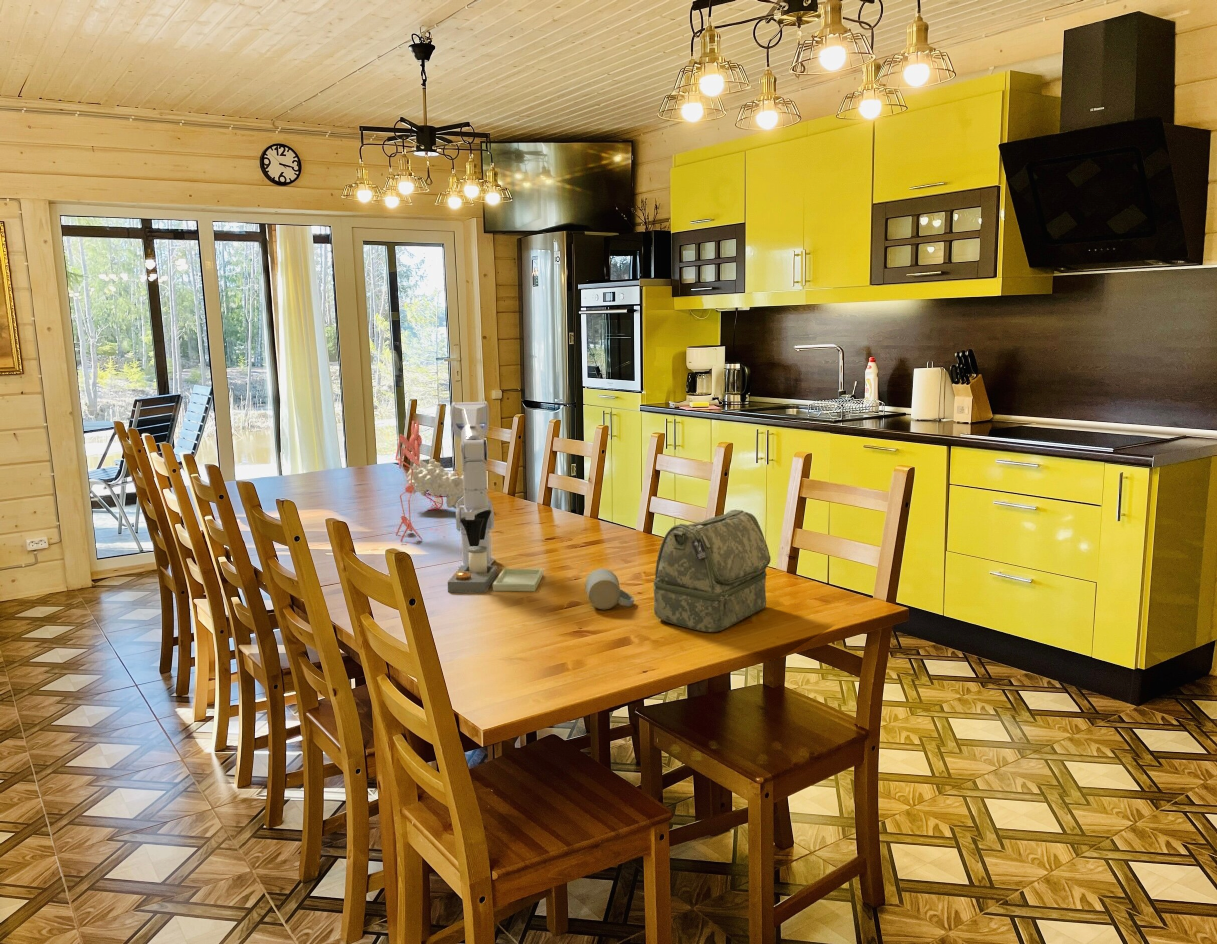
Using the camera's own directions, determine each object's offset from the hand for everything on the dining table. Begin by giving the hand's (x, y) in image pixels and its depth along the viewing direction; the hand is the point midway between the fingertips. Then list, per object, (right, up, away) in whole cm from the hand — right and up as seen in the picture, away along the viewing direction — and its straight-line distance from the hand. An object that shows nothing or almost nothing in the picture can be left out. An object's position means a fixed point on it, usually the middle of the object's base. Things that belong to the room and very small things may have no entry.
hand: (477, 542), depth 222 cm
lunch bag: (+55, -14, -28) cm, 63 cm away
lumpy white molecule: (-25, +4, +89) cm, 93 cm away
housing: (-1, -10, -2) cm, 10 cm away
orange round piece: (-2, -10, -6) cm, 12 cm away
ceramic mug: (+33, -13, -20) cm, 41 cm away
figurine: (-24, -2, +50) cm, 55 cm away
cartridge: (0, -9, +1) cm, 9 cm away
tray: (+10, -10, -2) cm, 14 cm away
